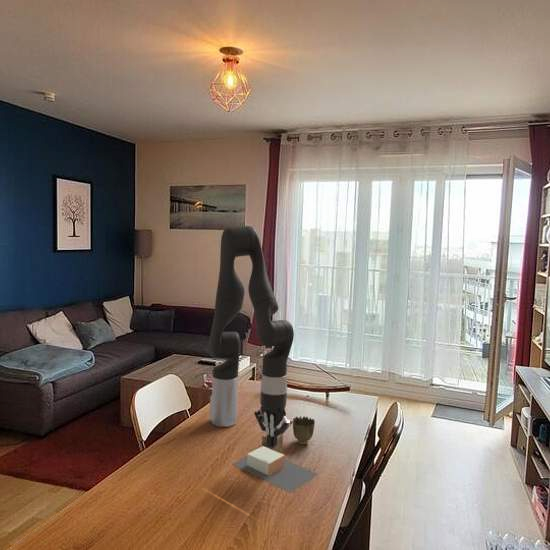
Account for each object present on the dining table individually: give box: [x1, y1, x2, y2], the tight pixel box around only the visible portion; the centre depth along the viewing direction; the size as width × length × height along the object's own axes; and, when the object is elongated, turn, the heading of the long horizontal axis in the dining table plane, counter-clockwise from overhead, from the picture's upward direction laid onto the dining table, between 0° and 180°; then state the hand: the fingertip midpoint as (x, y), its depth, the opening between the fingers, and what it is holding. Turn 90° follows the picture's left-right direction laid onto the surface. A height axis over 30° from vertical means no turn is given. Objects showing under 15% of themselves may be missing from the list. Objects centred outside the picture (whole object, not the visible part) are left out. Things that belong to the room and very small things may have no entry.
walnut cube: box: [261, 432, 284, 453], centre depth 146 cm, size 5×5×5 cm
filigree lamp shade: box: [291, 415, 315, 446], centre depth 150 cm, size 8×7×8 cm
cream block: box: [246, 445, 286, 476], centre depth 135 cm, size 4×7×8 cm
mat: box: [232, 456, 319, 494], centre depth 133 cm, size 22×13×1 cm, turn 51°
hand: (271, 446), depth 133 cm, fingers closed
